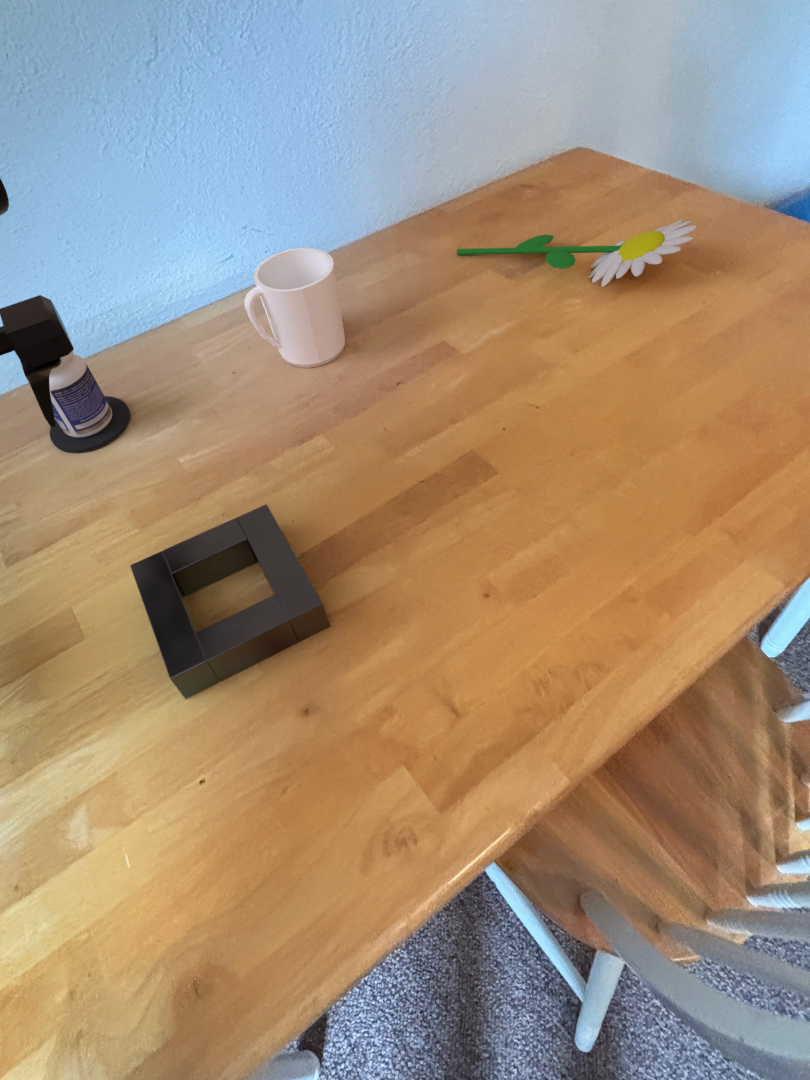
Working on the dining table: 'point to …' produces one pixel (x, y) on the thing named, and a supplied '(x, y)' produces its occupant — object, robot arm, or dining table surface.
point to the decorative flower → (605, 251)
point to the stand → (243, 634)
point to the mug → (299, 306)
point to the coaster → (99, 439)
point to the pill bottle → (77, 398)
